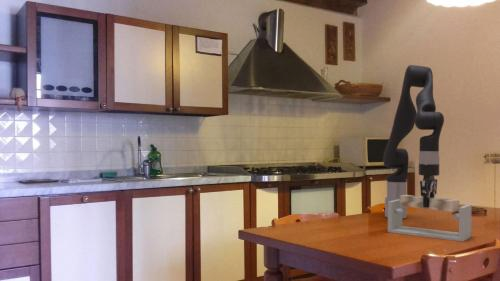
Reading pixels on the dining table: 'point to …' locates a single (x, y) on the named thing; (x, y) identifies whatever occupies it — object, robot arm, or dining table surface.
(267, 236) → the dining table surface
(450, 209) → the shelf board
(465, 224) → the grey c-shaped frame
